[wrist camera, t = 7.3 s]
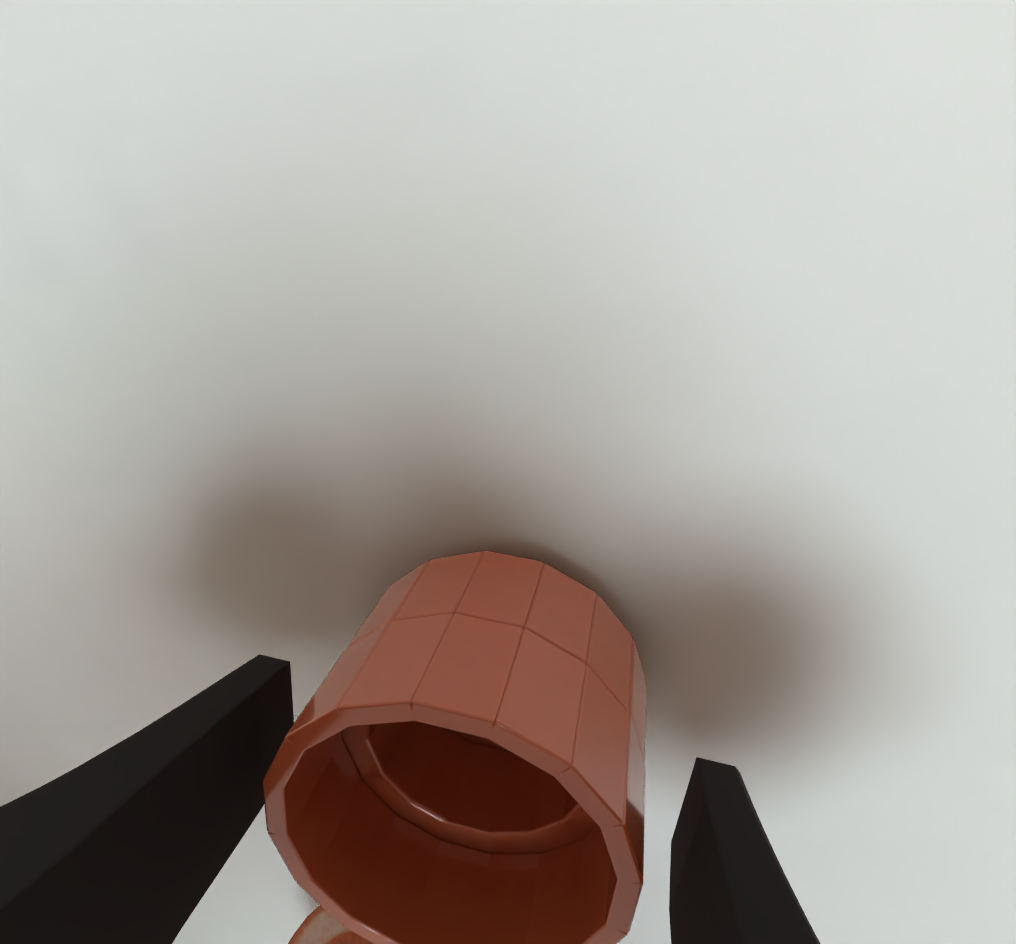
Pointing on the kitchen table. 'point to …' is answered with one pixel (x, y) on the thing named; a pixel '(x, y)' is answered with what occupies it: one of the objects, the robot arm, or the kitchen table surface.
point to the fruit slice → (325, 931)
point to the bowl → (472, 764)
